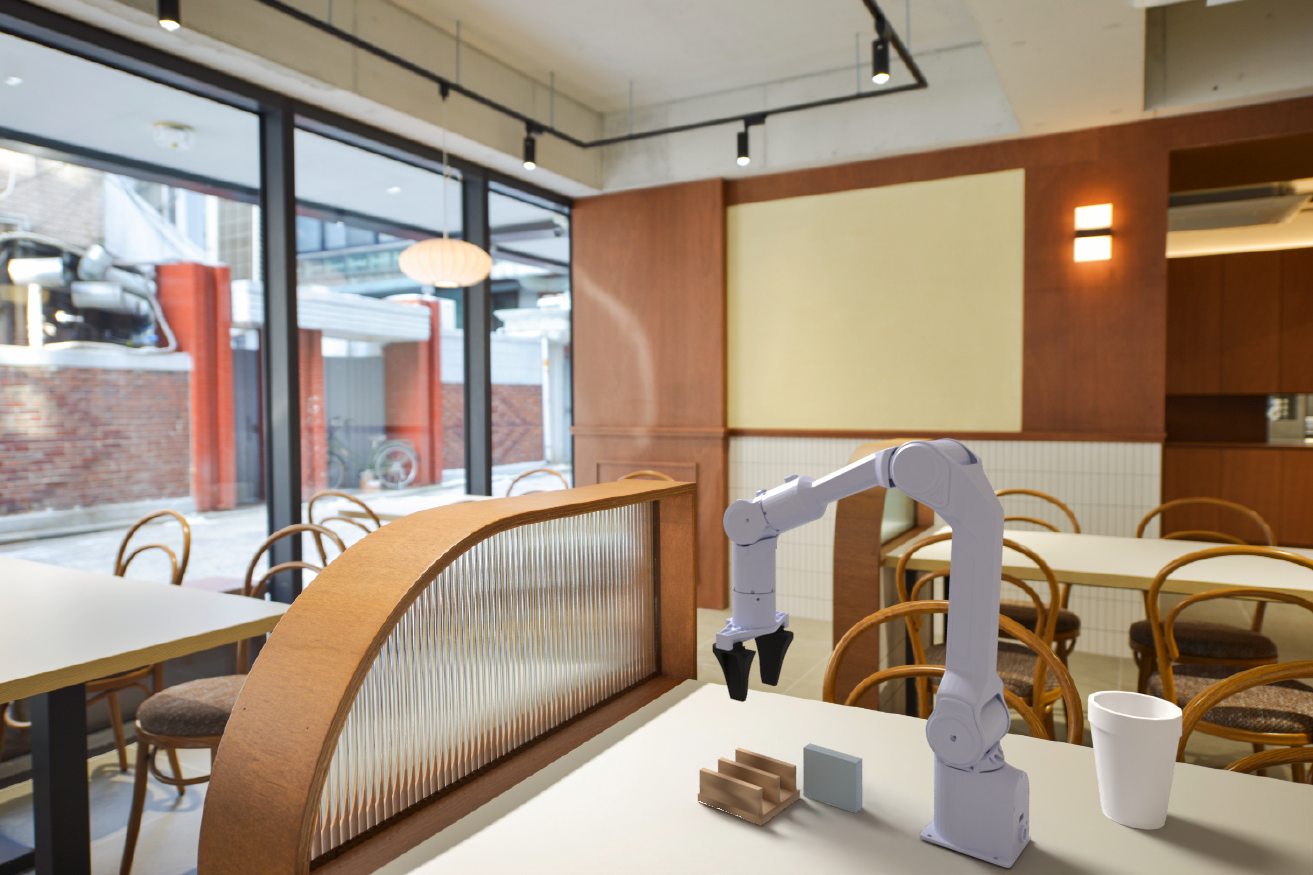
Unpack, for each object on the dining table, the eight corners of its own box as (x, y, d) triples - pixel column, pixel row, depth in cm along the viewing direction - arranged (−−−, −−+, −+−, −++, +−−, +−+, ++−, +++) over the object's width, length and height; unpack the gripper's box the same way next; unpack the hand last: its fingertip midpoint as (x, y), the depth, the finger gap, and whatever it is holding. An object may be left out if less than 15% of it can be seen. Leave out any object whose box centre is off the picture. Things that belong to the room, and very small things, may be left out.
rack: (800, 797, 98) (800, 764, 98) (760, 825, 91) (760, 790, 91) (738, 776, 104) (738, 745, 104) (697, 801, 97) (697, 768, 97)
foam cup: (1068, 804, 96) (1069, 696, 96) (1125, 790, 99) (1126, 686, 99) (1141, 843, 87) (1142, 724, 87) (1201, 827, 90) (1202, 713, 90)
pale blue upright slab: (862, 808, 95) (862, 758, 95) (856, 813, 94) (856, 763, 94) (809, 791, 100) (809, 743, 100) (803, 795, 99) (803, 747, 98)
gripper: (758, 577, 114) (758, 671, 114) (696, 594, 103) (696, 699, 103) (802, 583, 109) (802, 682, 110) (742, 602, 98) (742, 712, 99)
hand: (754, 691), depth 106 cm, fingers open, 7 cm apart
